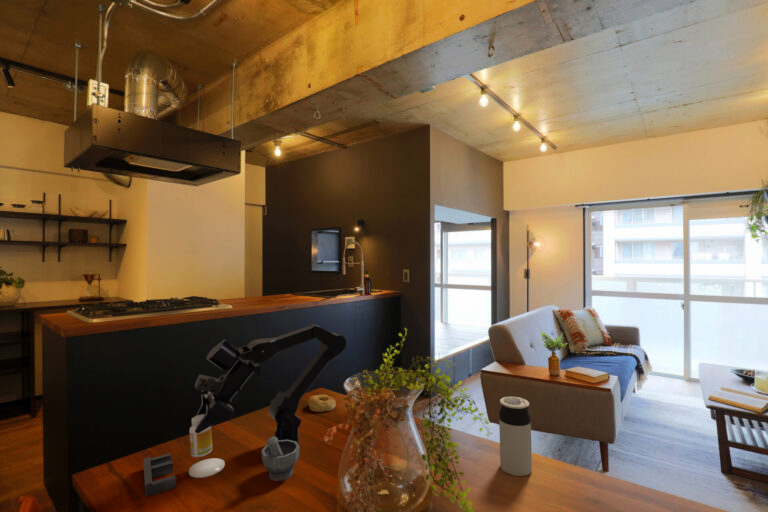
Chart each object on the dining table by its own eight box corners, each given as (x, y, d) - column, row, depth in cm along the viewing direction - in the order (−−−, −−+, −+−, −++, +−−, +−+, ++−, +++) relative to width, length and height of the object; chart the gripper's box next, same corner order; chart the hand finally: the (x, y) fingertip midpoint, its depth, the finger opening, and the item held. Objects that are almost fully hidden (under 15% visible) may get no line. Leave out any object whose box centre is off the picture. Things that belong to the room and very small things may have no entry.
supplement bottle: (216, 447, 106) (214, 412, 105) (205, 457, 100) (203, 421, 100) (198, 447, 106) (196, 413, 106) (186, 457, 101) (184, 421, 101)
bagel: (325, 415, 138) (325, 402, 138) (302, 410, 143) (302, 397, 143) (341, 406, 147) (341, 393, 147) (319, 401, 152) (319, 390, 152)
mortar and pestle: (272, 463, 106) (271, 420, 106) (304, 465, 105) (303, 421, 105) (253, 487, 95) (252, 439, 95) (289, 489, 93) (288, 441, 93)
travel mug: (499, 474, 98) (498, 405, 98) (501, 458, 106) (499, 394, 106) (532, 479, 95) (530, 408, 96) (531, 463, 103) (529, 397, 103)
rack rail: (170, 461, 108) (170, 451, 108) (175, 487, 95) (175, 475, 95) (144, 469, 104) (143, 458, 104) (145, 497, 92) (144, 484, 92)
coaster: (227, 458, 109) (227, 456, 109) (220, 475, 100) (220, 473, 100) (194, 461, 107) (194, 460, 107) (184, 479, 99) (184, 478, 99)
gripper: (207, 356, 113) (167, 402, 107) (218, 371, 97) (172, 426, 91) (236, 376, 117) (199, 422, 111) (251, 394, 102) (209, 447, 96)
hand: (194, 428), depth 102 cm, fingers closed on supplement bottle, 5 cm apart
